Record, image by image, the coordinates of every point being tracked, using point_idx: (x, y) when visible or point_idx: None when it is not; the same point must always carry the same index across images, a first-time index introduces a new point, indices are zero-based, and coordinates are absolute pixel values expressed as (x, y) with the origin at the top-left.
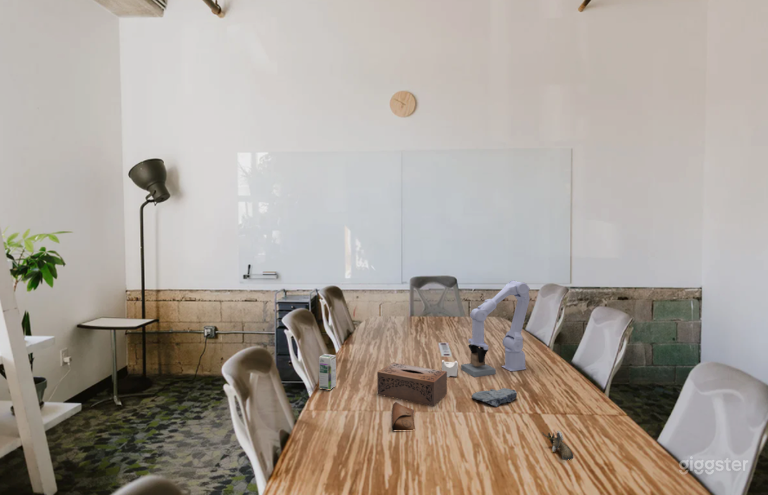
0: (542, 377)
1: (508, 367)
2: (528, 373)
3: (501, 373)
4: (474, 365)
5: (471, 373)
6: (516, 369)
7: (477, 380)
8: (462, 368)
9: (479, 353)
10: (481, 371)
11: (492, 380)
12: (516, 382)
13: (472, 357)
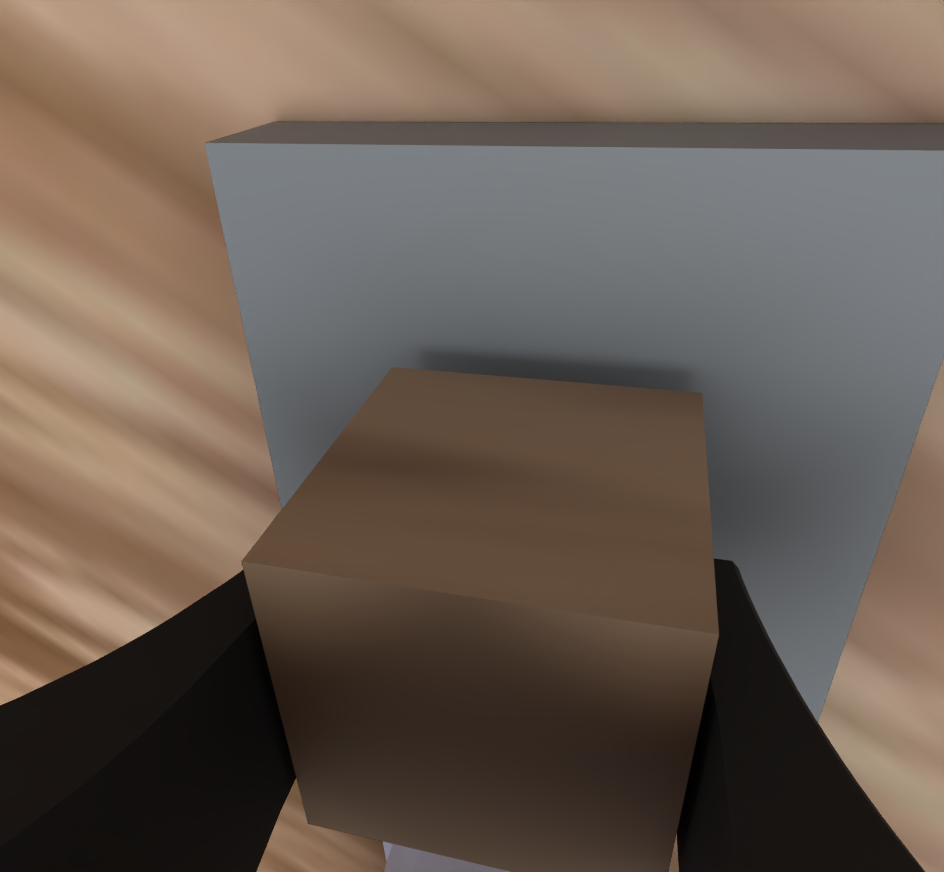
0: None
1: None
2: (280, 838)
3: None
4: (478, 374)
5: (374, 129)
6: (392, 845)
7: (84, 68)
8: (872, 130)
9: (7, 704)
10: (254, 351)
11: (79, 349)
12: (7, 568)
13: (560, 517)
